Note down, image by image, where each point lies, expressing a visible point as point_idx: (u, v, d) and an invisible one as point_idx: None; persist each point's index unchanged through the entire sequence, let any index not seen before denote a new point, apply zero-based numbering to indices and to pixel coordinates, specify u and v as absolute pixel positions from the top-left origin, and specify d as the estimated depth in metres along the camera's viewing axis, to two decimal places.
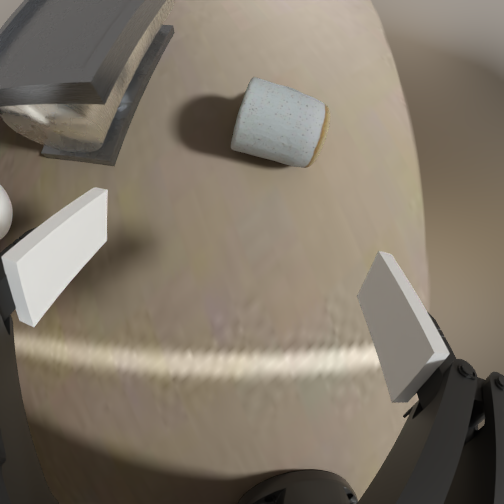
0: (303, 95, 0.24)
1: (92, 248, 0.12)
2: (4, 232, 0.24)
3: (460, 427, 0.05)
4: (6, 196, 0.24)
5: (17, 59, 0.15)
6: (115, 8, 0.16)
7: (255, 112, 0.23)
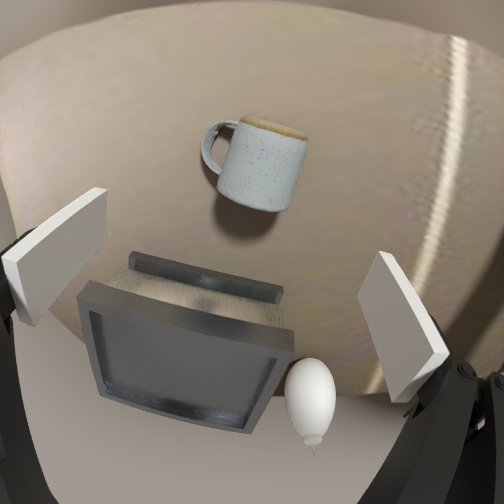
0: (244, 148, 0.25)
1: (92, 248, 0.12)
2: (323, 364, 0.44)
3: (460, 427, 0.05)
4: (299, 366, 0.43)
5: (228, 399, 0.31)
6: (189, 344, 0.27)
7: (273, 198, 0.27)
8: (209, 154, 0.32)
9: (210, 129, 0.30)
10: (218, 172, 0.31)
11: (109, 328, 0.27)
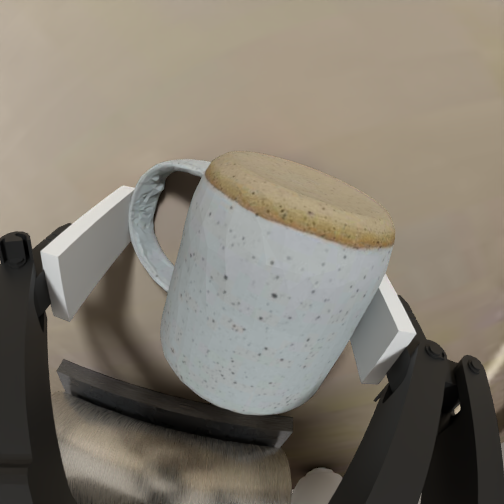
0: (215, 280, 0.08)
1: (121, 245, 0.13)
2: (340, 480, 0.26)
3: (432, 410, 0.06)
4: (309, 488, 0.26)
5: None
6: None
7: (295, 395, 0.10)
8: (149, 235, 0.14)
9: (143, 182, 0.12)
10: (166, 286, 0.13)
11: None
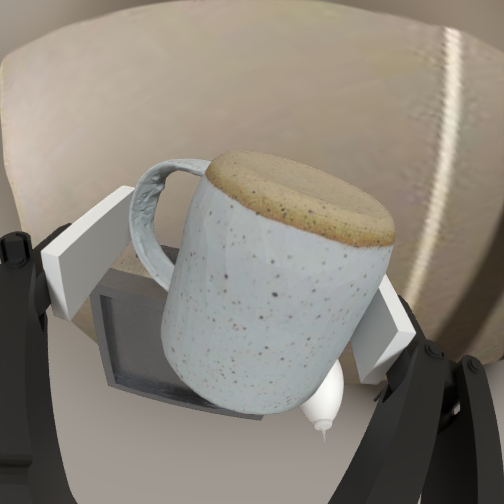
0: (216, 279, 0.08)
1: (122, 245, 0.13)
2: None
3: (432, 410, 0.06)
4: None
5: None
6: None
7: (295, 394, 0.10)
8: (149, 234, 0.14)
9: (143, 181, 0.12)
10: (166, 285, 0.13)
11: (119, 314, 0.28)
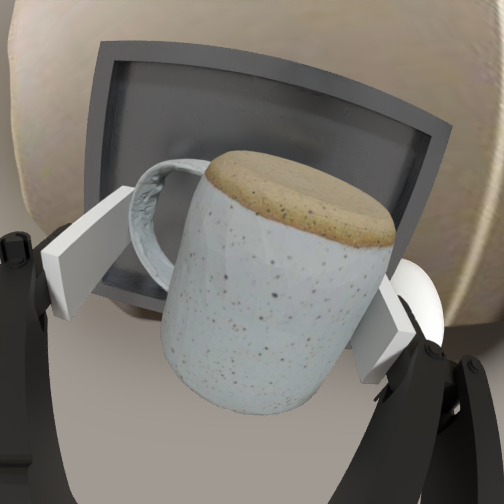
0: (216, 280, 0.08)
1: (121, 245, 0.13)
2: None
3: (432, 410, 0.06)
4: None
5: None
6: (285, 119, 0.15)
7: (295, 395, 0.10)
8: (149, 235, 0.14)
9: (143, 182, 0.12)
10: (166, 286, 0.13)
11: (136, 112, 0.15)
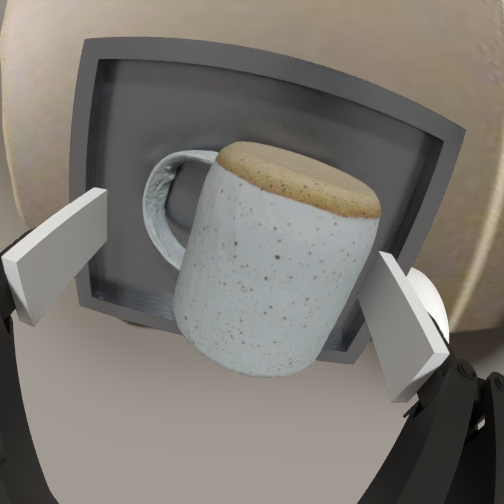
0: (227, 247, 0.10)
1: (92, 248, 0.12)
2: None
3: (460, 427, 0.05)
4: None
5: None
6: (285, 122, 0.14)
7: (297, 357, 0.11)
8: (161, 220, 0.16)
9: (157, 171, 0.14)
10: (177, 264, 0.15)
11: (123, 115, 0.14)
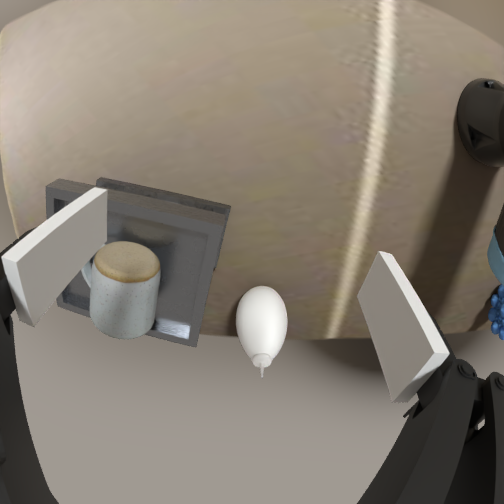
0: (95, 289, 0.26)
1: (92, 248, 0.12)
2: (275, 291, 0.47)
3: (460, 427, 0.05)
4: (250, 291, 0.47)
5: (171, 298, 0.34)
6: (133, 228, 0.30)
7: (127, 331, 0.28)
8: (88, 268, 0.32)
9: None
10: None
11: None
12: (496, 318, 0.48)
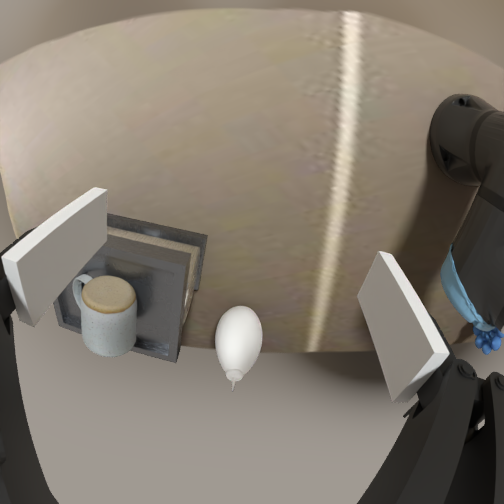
0: (83, 317, 0.31)
1: (92, 248, 0.12)
2: (252, 310, 0.51)
3: (460, 427, 0.05)
4: (229, 311, 0.51)
5: (152, 322, 0.39)
6: (115, 265, 0.35)
7: (111, 350, 0.32)
8: (81, 296, 0.37)
9: (74, 281, 0.35)
10: None
11: None
12: (480, 332, 0.50)
